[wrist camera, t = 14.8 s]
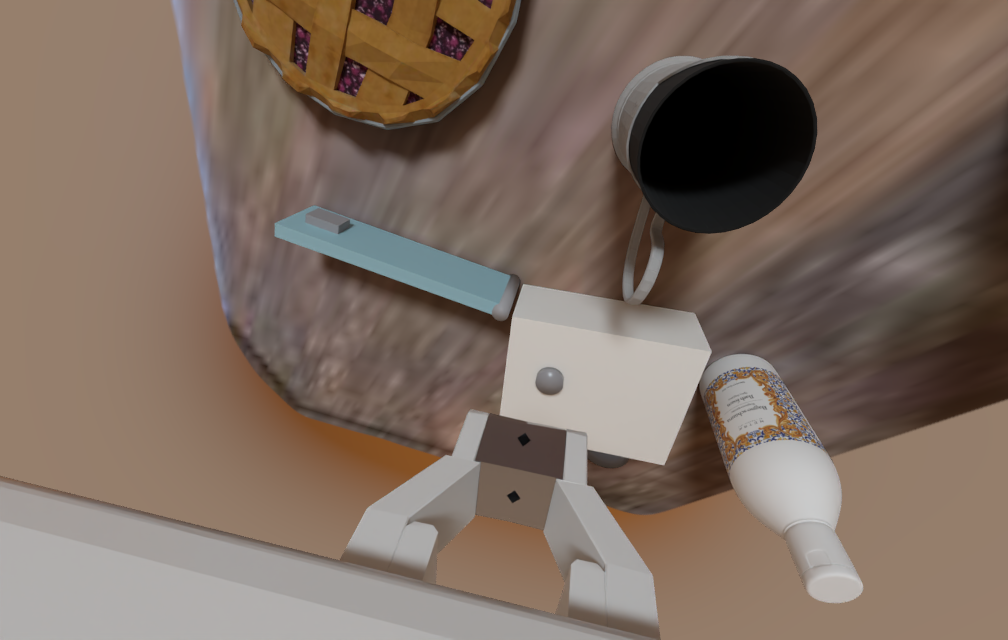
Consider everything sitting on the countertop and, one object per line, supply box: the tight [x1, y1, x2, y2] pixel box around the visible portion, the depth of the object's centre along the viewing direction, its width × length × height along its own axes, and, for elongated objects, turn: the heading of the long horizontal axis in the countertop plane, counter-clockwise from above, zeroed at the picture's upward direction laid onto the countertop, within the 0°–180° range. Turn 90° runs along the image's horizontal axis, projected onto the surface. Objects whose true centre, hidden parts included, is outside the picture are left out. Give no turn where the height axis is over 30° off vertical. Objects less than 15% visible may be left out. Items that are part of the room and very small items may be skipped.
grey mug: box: [611, 56, 817, 305], centre depth 27 cm, size 9×14×15 cm, turn 164°
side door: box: [275, 205, 520, 321], centre depth 38 cm, size 2×21×7 cm, turn 73°
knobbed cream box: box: [500, 284, 712, 468], centre depth 41 cm, size 16×16×7 cm
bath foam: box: [699, 354, 863, 603], centre depth 33 cm, size 7×7×20 cm
